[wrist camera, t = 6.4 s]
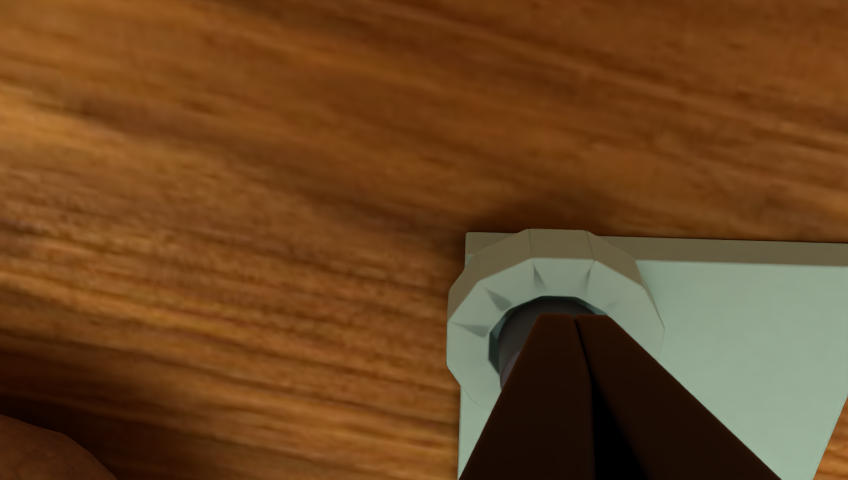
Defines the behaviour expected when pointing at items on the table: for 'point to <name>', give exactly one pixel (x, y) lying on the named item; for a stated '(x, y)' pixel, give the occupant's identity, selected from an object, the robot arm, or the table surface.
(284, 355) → the table surface
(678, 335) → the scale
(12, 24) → the table surface
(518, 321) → the dark brown cylinder
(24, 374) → the table surface
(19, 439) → the bowl
